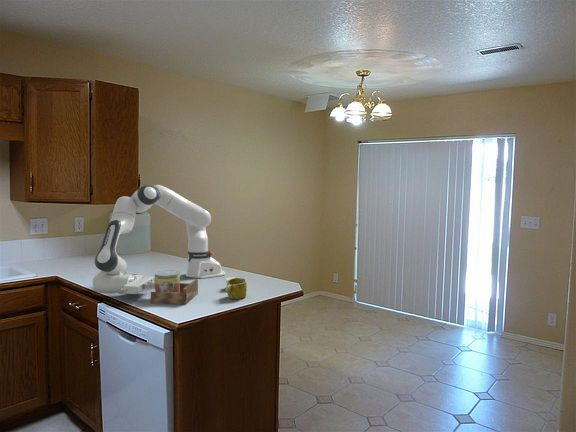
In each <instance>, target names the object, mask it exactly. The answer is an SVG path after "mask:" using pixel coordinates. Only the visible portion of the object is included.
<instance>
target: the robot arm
mask: <svg viewBox="0 0 576 432" xmlns="http://www.w3.org/2000/svg"><path fill="white" fill-rule="evenodd" d="M153 205H156V206H158V207H160V208H161V209H163V210H165V211H166V212H169V213H170V214H172V215H174V216H175V217H176V218H179V219H181V220H182V221H185V225H186V232H187V239H188V240H187V243H188V245H187V246H188V248H187V249H188V251H187V269H186V273H185V276H186V277H187V278H188V277H189V278H194V279H196V278H197V279H207V278H214V277H221V276H226V271H225V270H222V266H221V263H220V262H219V261H218V260H216V259H215V258H213V257H212V256H214V254H215V253H214V252H213V251H210V250H209V237H208V232H207V229H206V228H207V227H208V226H210V224H211V222H212V216H211V213H210V212H209V211H207V209H204V208H203V207H201V206H200V205H198V204H196V203H194V202H192V201H190V200H189V199H187V198H185V197H183V196H182V195H180V194H179V193H177V192H175V191H174V190H172V189H170V188H168V187H166V186H163V185H161V184H155V185H149V184H147V185H143V186H140V187H139V188H138V189H137V190H135V192H134V193H132V195H131V196H125V195H124V196H120V197H119V198H117V200H116V202H115V205H114V207H113V209H112V210H113V211H112V214H111V220H110V222H109V223H108V225H107V227H106V229H105V233H104V237H103V239H102V241H101V246H100V248H99V250H98V252H97V253H96V255H95V257H94V265H95V267H96V268H97V269H98V270H99V272H98V274H96V275H95V276H93V278H92V286H93V289H94V290H95V291H96V292H98V293H100V294H101V293H102V294H115V293H116V294H120V295H138V294H140V293H142V292H143V291H145V290H147V289H155V276H152V275H142V274H140V275H139V273H135V274H126V273H127V271H128V263H127V261H126V260H125V259H124V258H122V257H121V256H119V255H118V253H117V251H116V249H117V245H118V241H119V237H120V235H123V234H128V233H130V232H131V231H132V230H133V229H134V226H135V222H136V216H137V215H141V214H144V213H145V212H147V211H148V210H149V209H150V208H151V207H152V206H153Z"/></svg>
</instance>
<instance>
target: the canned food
mask: <svg viewBox="0 0 576 432" xmlns="http://www.w3.org/2000/svg"><path fill="white" fill-rule="evenodd" d="M180 275H181V272H180V271H179V270H173V269H172V270H167V269H166V270H160V271H156V272H155V273H154V283H155V288H154V289H155V291H154V292H177V293H180V283H181V282H180V281H181V279H180V278H181V276H180Z"/></svg>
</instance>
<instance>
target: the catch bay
mask: <svg viewBox="0 0 576 432" xmlns="http://www.w3.org/2000/svg"><path fill="white" fill-rule="evenodd" d="M198 279H199V278H197V279H196V278H194V280H192V281H191V282H189V283H186V282H180V293H177V292H155V291H150V304H155V305H156V304H157V305H159V304H160V305H161V304H163V305H187V304H188V303H190V301H192V300H193V299H194V298H195V297H196V296H197V295H198V294H199V280H198Z"/></svg>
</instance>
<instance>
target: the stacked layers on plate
mask: <svg viewBox="0 0 576 432" xmlns="http://www.w3.org/2000/svg"><path fill="white" fill-rule="evenodd" d="M233 278H235V277H234V276H230V277H226V286H227V281H228V280H230V279H233Z"/></svg>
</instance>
